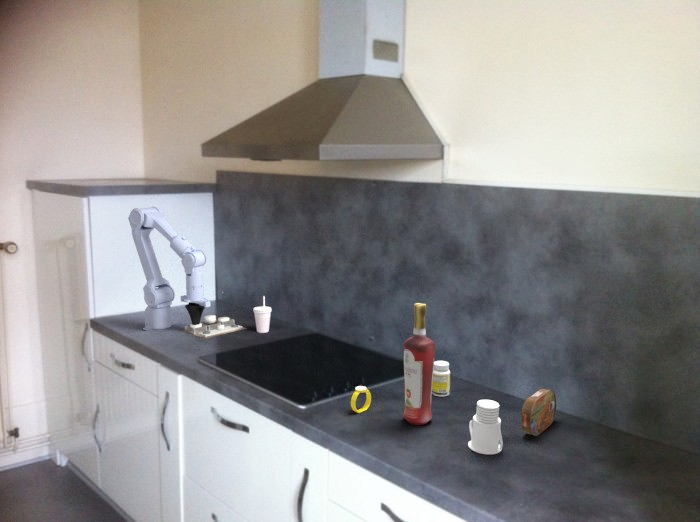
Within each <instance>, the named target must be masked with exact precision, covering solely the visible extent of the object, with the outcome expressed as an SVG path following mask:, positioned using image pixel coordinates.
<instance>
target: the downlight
mask: <svg viewBox="0 0 700 522" xmlns="http://www.w3.org/2000/svg"><path fill="white" fill-rule="evenodd" d="M499 411H500V403H499V402H497V401H495V400H491V399H479V400H478V401H477V402H476V413H475V414H474V415H473V417H472V419H471V420H470V421H469V424H468V428H469V429H468V430H469V433H470V439H471V440H469V441H468V443H467V446H468V448H469V449H470V450H471V451H473V452H475V453H477V454H482V455H496V454H498V453H500V452H502V450H503V445H504V441H503V437H502V431H501V425H502V419H501V418H500V417H499Z"/></svg>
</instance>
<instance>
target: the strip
mask: <svg viewBox="0 0 700 522" xmlns="http://www.w3.org/2000/svg"><path fill="white" fill-rule="evenodd" d="M243 327H244V326H242V325H239V324H235V325H231V326H227V327H224V325H217V329H214V330H209V331H204V332H201V333H198V335H201V336H204V337H207V336H211V335H216V334H220V333H224V332H228V331H232V330H236V329H240V328H243Z"/></svg>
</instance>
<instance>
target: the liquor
mask: <svg viewBox="0 0 700 522" xmlns="http://www.w3.org/2000/svg"><path fill="white" fill-rule="evenodd" d="M413 305H414V307H413V308H414V309H413V312H414V325H413V333H412V336H410V337H408V338H406V340H404V341H403V342H402V343H403V372H404V373H403V374H404V412H403V413H402V416H403V418H404V419H405V420H406V421H407V422H408V423H409V424H411V425H415V426H423V425H426V424H427V423H428V422H429V421H430V420H431V419H432V418H433V414H432V411H431V408H432V395H433V394H432V380H433V370H434V362H435V355H436V353H435V352H436V342H435V341H433V339H431V338H429V337H427V332H426V331H427V330H426V320H425V319H426V314H427V304H426V303H422V302H417V303H414V304H413Z"/></svg>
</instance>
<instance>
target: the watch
mask: <svg viewBox="0 0 700 522" xmlns="http://www.w3.org/2000/svg"><path fill="white" fill-rule="evenodd" d="M360 393H361V394H362V393H363V394H364V393H365V394H366V395H365V398H366V399H365V403H364V405H363V406H362V407H361V408H359V409H357V407H356V402H357V398H358V396H359V395H360ZM371 402H372V393H371V392H370V390H369V389H368V388H367V387H366V386H365V385H364V386H363V385H358V386H355V390H354V392H353V394H352V396H351V398H350V406H351V407H350V408H351V411H354V412H355V413H357V414H360V413H363V412H365V411H367V410H369V407H370V405H371Z"/></svg>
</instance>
